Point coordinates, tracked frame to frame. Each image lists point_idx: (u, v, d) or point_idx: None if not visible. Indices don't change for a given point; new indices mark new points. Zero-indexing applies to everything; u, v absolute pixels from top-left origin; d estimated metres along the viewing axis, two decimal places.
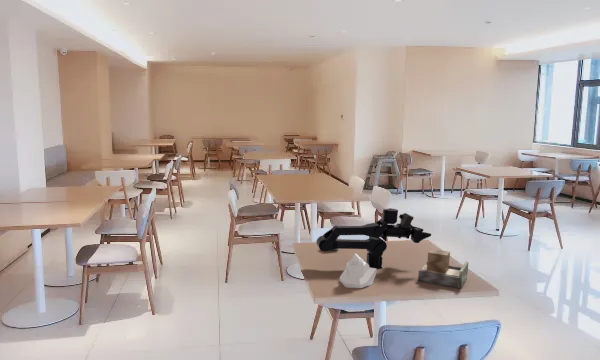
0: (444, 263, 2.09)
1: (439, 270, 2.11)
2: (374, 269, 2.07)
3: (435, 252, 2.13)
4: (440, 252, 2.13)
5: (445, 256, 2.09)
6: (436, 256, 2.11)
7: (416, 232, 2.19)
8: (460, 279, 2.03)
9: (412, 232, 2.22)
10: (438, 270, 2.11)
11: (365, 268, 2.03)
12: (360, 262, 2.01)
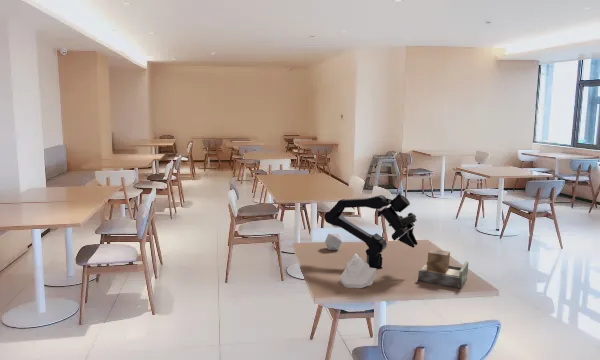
0: (444, 263, 2.09)
1: (439, 270, 2.11)
2: (374, 269, 2.07)
3: (435, 252, 2.13)
4: (440, 252, 2.13)
5: (445, 256, 2.09)
6: (436, 256, 2.11)
7: (399, 231, 2.11)
8: (460, 279, 2.03)
9: None
10: (438, 270, 2.11)
11: (365, 268, 2.03)
12: (360, 262, 2.01)
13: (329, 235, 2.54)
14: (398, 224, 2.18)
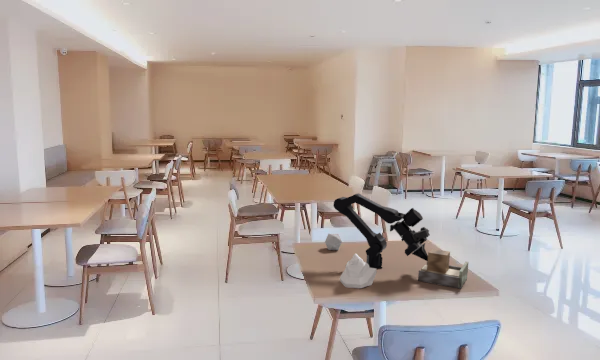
0: (444, 263, 2.09)
1: (439, 270, 2.11)
2: (374, 269, 2.07)
3: (435, 252, 2.13)
4: (440, 252, 2.13)
5: (445, 256, 2.09)
6: (436, 256, 2.11)
7: (412, 246, 2.09)
8: (460, 279, 2.03)
9: None
10: (438, 270, 2.11)
11: (365, 268, 2.03)
12: (360, 262, 2.01)
13: (329, 235, 2.54)
14: (411, 239, 2.16)
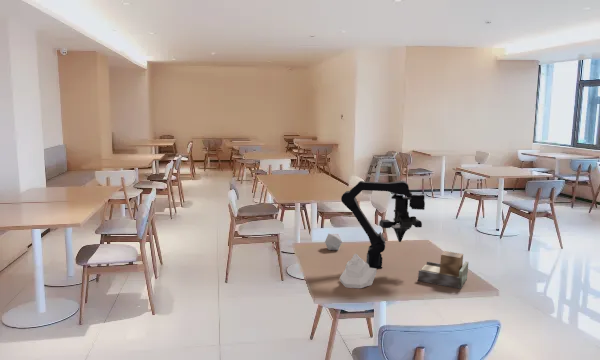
0: (457, 265, 2.07)
1: (452, 273, 2.08)
2: (374, 269, 2.07)
3: (448, 254, 2.10)
4: (453, 254, 2.10)
5: (458, 258, 2.06)
6: (449, 258, 2.08)
7: (382, 223, 2.20)
8: (460, 279, 2.03)
9: (387, 221, 2.21)
10: (451, 273, 2.08)
11: (365, 268, 2.03)
12: (360, 262, 2.01)
13: (329, 235, 2.54)
14: (396, 217, 2.22)
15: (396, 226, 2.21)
